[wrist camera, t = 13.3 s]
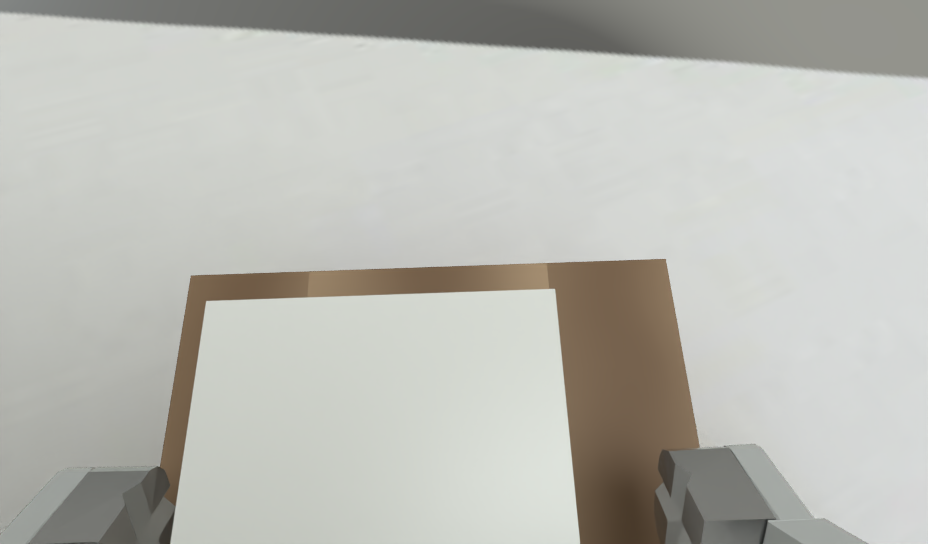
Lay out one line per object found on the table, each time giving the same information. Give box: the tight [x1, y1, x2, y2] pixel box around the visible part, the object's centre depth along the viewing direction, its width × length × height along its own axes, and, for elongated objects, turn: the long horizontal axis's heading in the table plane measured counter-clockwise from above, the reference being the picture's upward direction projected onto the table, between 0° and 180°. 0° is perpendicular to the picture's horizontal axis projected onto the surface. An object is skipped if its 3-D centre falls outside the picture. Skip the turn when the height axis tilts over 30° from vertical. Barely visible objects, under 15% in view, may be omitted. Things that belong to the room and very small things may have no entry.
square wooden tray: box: [160, 259, 700, 544], centre depth 15 cm, size 12×12×4 cm
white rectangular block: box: [170, 289, 580, 544], centre depth 11 cm, size 4×5×11 cm
